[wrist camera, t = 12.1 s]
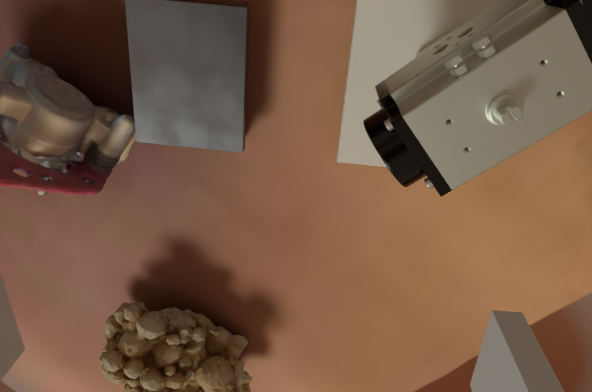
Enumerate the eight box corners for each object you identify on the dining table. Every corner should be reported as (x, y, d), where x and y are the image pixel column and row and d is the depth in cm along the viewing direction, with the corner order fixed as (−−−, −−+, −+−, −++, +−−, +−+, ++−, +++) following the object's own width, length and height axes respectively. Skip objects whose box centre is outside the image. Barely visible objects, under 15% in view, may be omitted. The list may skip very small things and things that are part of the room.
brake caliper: (-51, 147, 37) (-132, 115, 26) (44, 46, 39) (8, -23, 28) (75, 230, 40) (53, 235, 28) (156, 131, 42) (165, 98, 31)
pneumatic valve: (551, 35, 29) (676, 79, 19) (391, 138, 33) (419, 223, 23) (512, -44, 28) (624, -45, 17) (347, 74, 31) (355, 134, 21)
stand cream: (366, -87, 30) (369, -92, 27) (524, -74, 29) (543, -78, 27) (336, 147, 37) (336, 162, 34) (463, 160, 37) (473, 175, 34)
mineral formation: (156, 396, 51) (74, 300, 45) (266, 351, 50) (199, 245, 44) (143, 465, 44) (43, 363, 38) (271, 415, 43) (191, 300, 36)
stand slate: (141, -7, 33) (124, -4, 30) (253, 4, 33) (246, 7, 30) (150, 128, 37) (136, 141, 35) (249, 138, 37) (242, 152, 35)
